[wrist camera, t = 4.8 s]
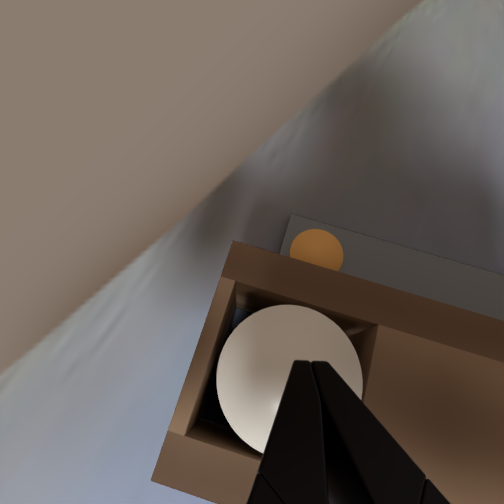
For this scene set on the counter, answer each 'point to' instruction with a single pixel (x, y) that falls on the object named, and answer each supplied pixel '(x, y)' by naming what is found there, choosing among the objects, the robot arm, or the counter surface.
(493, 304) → the pattern card
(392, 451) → the robot arm
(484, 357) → the button console
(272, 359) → the beige cylinder
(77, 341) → the counter surface
